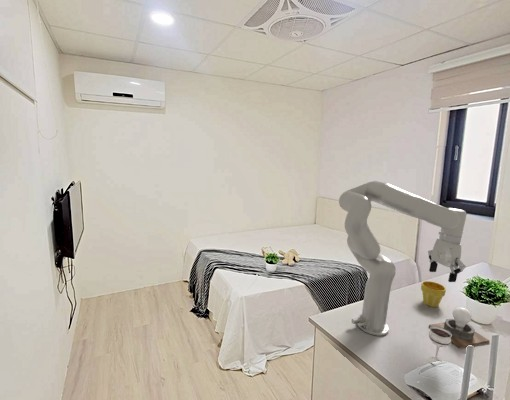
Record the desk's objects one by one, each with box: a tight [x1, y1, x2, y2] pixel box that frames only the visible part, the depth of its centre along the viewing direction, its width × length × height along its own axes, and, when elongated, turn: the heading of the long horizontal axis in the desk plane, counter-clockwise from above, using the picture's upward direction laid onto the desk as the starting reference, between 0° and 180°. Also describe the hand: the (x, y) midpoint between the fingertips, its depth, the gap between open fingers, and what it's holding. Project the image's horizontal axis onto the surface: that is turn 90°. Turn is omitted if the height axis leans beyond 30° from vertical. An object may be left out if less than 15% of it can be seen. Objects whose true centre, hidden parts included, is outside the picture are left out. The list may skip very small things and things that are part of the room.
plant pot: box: [420, 280, 447, 308], centre depth 146 cm, size 10×10×10 cm
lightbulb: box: [452, 306, 472, 331], centre depth 121 cm, size 6×6×11 cm
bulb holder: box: [428, 318, 491, 349], centre depth 122 cm, size 16×14×4 cm
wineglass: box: [426, 326, 452, 364], centre depth 104 cm, size 7×7×12 cm
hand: (441, 276), depth 124 cm, fingers open, 9 cm apart
